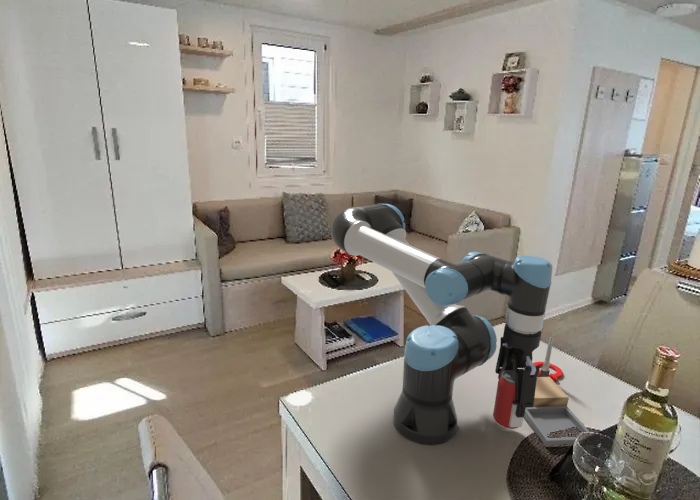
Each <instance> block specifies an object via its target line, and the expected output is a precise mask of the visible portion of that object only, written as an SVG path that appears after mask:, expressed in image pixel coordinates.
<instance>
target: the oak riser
mask: <svg viewBox="0 0 700 500" xmlns="http://www.w3.org/2000/svg"><path fill="white" fill-rule="evenodd" d="M569 398H570V397H569V395H567V393H566V392H565V391H564V390H563V389H562V388H561V387H560V386H559V385H558V384H557V382H554V381H553V380H552V379H551V378H550V377H539V376H537V381H536V389H535V397H534V405H533V407H546V406H567V407H568V402H569Z"/></svg>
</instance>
